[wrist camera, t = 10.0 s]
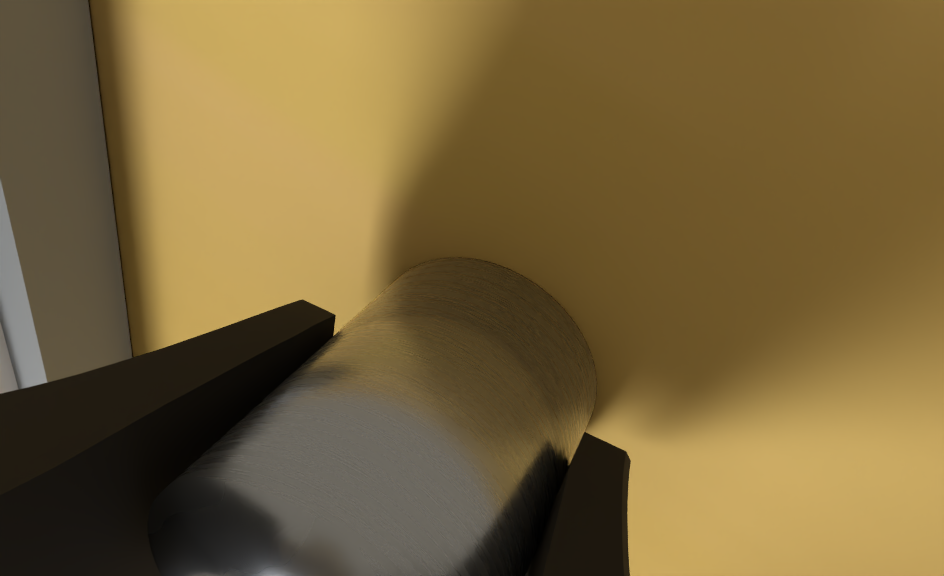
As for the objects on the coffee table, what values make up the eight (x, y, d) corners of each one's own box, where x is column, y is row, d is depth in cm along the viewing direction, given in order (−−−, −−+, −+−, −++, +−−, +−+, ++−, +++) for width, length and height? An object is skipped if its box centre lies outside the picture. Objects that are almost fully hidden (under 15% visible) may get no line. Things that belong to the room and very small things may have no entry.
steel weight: (555, 495, 12) (428, 799, 8) (363, 398, 12) (159, 625, 8) (633, 322, 9) (509, 626, 5) (391, 220, 10) (131, 414, 6)
